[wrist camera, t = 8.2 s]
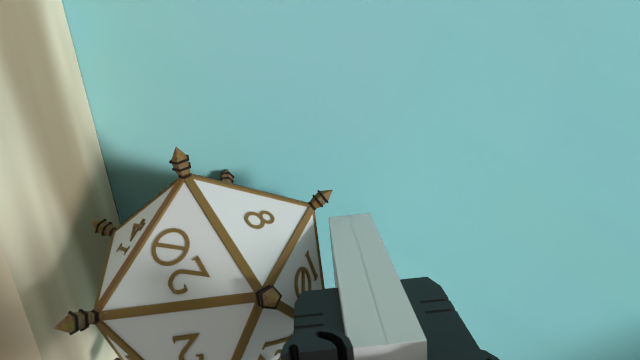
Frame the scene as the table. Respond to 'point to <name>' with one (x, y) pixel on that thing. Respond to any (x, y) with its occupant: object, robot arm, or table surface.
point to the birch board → (48, 189)
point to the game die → (205, 272)
